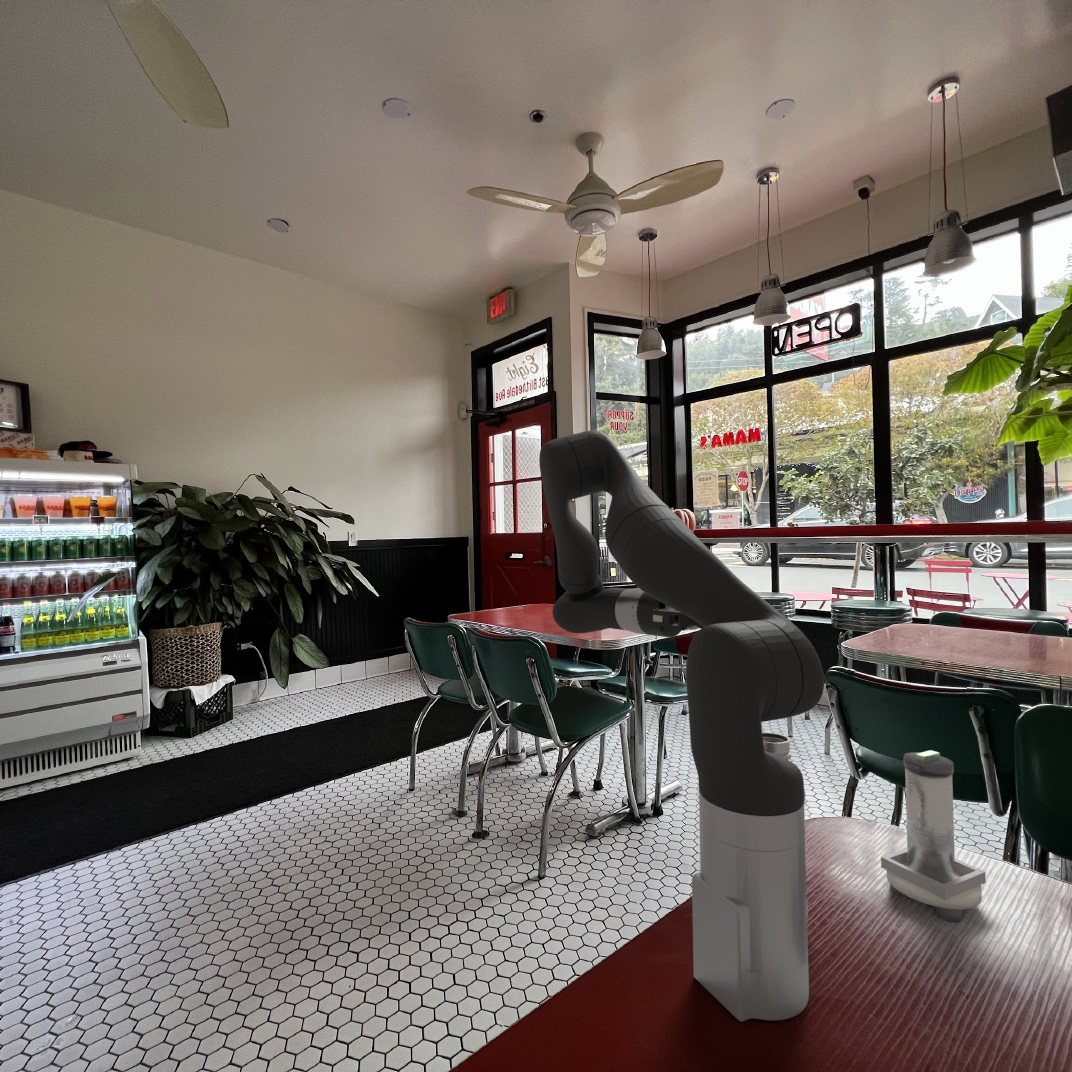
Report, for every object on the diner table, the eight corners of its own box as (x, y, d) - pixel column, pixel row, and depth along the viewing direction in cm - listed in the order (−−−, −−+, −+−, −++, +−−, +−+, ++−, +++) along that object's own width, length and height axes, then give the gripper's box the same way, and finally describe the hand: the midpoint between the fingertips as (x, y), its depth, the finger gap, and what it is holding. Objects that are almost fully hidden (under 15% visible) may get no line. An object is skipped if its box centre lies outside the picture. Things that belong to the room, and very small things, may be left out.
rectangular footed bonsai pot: (950, 933, 62) (949, 894, 62) (869, 888, 70) (868, 855, 70) (1000, 909, 66) (999, 873, 66) (918, 870, 74) (917, 838, 74)
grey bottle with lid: (939, 890, 65) (936, 763, 65) (897, 869, 69) (893, 750, 69) (966, 880, 67) (962, 756, 67) (923, 860, 71) (920, 744, 71)
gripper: (620, 590, 92) (710, 596, 80) (676, 586, 102) (765, 590, 89) (620, 639, 92) (712, 652, 80) (677, 630, 101) (767, 640, 89)
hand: (740, 619), depth 85 cm, fingers open, 8 cm apart
